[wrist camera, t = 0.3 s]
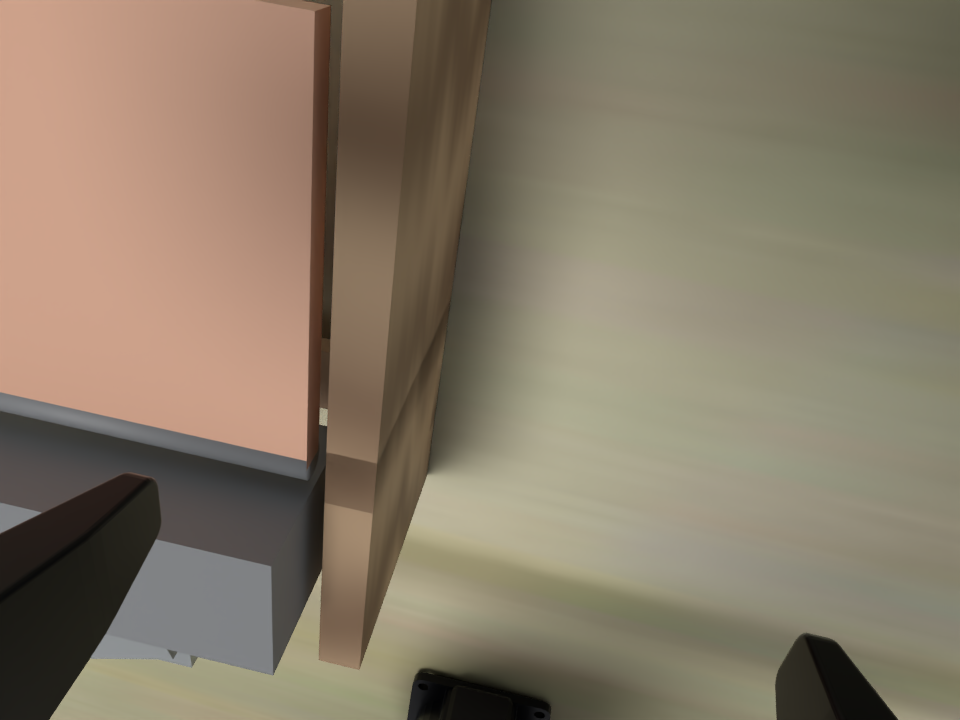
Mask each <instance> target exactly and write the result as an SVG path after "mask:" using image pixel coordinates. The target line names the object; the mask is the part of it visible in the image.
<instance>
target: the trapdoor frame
mask: <svg viewBox="0 0 960 720" xmlns="http://www.w3.org/2000/svg"><path fill="white" fill-rule="evenodd" d="M491 1H492V0H343V10H342V38H341V65H340V92H339V120H338V147H337V175H336V202H335V229H334V257H333V284H332V311H331V339H326V338H322V340H321V374H320V407H321V408H325V409H328V421H327V448H326V476H325V503H324V531H323V558H322V585H321V613H320V640H319V660H321V661H325V662H329V663H333V664H337V665H342V666H346V667H350V668H354V669H358V670H359V669H360V666H361V663H362V661H363V658H364V655H365V652H366V649H367V646H368V643H369V640H370V638H371V635H372V632H373V629H374V626H375V623H376V620H377V617H378V615H379V612H380V609H381V606H382V603H383V600H384V597H385V594H386V592H387V589H388V586H389V583H390V580H391V577H392V574H393V571H394V569H395V566H396V563H397V560H398V557H399V554H400V551H401V548H402V546H403V543H404V540H405V537H406V534H407V531H408V528H409V525H410V523H411V520H412V517H413V514H414V511H415V508H416V505H417V502H418V500H419V497H420V494H421V491H422V488H423V485H424V482H425V479H426V477H427V470H428V463H429V456H430V448H431V441H432V434H433V426H434V419H435V412H436V404H437V397H438V390H439V382H440V375H441V368H442V360H443V353H444V346H445V338H446V331H447V324H448V316H449V309H450V302H451V294H452V287H453V280H454V272H455V265H456V258H457V250H458V243H459V236H460V228H461V221H462V214H463V206H464V199H465V192H466V184H467V177H468V170H469V162H470V155H471V148H472V140H473V133H474V126H475V118H476V111H477V104H478V96H479V89H480V82H481V74H482V67H483V60H484V52H485V45H486V38H487V30H488V23H489V16H490V8H491Z"/></svg>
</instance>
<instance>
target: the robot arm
mask: <svg viewBox="0 0 960 720" xmlns="http://www.w3.org/2000/svg"><path fill="white" fill-rule="evenodd" d="M161 522H162V517H161V508H160V499H159V489H158V484H157V482H156V480H155V479H154V478H152V477H149V476H145V475H141V474H137V473H132V472H126V473H122V474H120V475H118V476H116V477H114V478H112V479H110V480H108V481H106V482H104V483H102V484H100V485H98V486H96V487H93V488H91V489H89V490H87V491H85V492H83V493H81V494H79V495H77V496H75V497H73V498H71V499H69V500H67V501H65V502H63V503H61V504H59V505H57V506H55V507H53V508H51V509H49V510H47V511H45V512H43V513H41V514H39V515H37V516H34V517H32V518H30V519H28V520H26V521H24V522H22V523H20V524H18V525H16V526H14V527H12V528H10V529H8V530H6V531H4V532H2V533H0V720H49V719H50V717H51V716H52V714H53V713H54V711H55V710H56V708H57V707H58V706H59V704H60V703H61V701H62V700H63V698H64V697H65V695H66V694H67V692H68V691H69V689H70V688H71V686H72V685H73V683H74V682H75V680H76V679H77V677H78V676H79V674H80V673H81V671H82V670H83V668H84V667H85V665H86V664H87V662H88V661H89V659H90V658H91V656H92V655H93V653H94V652H95V650H96V649H97V647H98V645H99V644H100V642H101V641H102V639H103V638H104V636H105V634H106V633H107V631H108V629H109V627H110V626H111V624H112V622H113V620H114V619H115V617H116V615H117V613H118V611H119V609H120V607H121V605H122V603H123V601H124V600H125V598H126V596H127V594H128V592H129V590H130V588H131V586H132V584H133V582H134V580H135V579H136V577H137V575H138V573H139V571H140V569H141V567H142V565H143V563H144V561H145V560H146V558H147V556H148V554H149V552H150V550H151V548H152V546H153V544H154V542H155V540H156V539H157V536H158V534H159V531H160V528H161ZM775 691H776V716H777V720H898V719H897V717H896V716H895V715H894V714H893V712H892V711H891V710H890V709H889V707H888V706H887V705H886V704H885V702H884V701H883V700H882V698H881V697H880V696H879V695H878V693H877V692H876V691H875V690H874V688H873V687H872V686H871V685H870V683H869V682H868V681H867V679H866V678H865V677H864V676H863V674H862V673H861V672H860V671H859V669H858V668H857V667H856V666H855V664H854V663H853V662H852V660H851V659H850V658H849V657H848V655H847V654H846V653H845V652H844V650H843V649H842V648H841V647H840V645H839V644H838V643H837V642H835V641H834V640H832V639H830V638H826V637H822V636H818V635H813V634H809V633H803V634H801V635H800V636H799V637H798V638H797V639H796V641H795V643H794V644H793V646H792V648H791V649H790V651H789V653H788V654H787V656H786V658H785V659H784V661H783V663H782V664H781V666H780V668H779V670H778V673H777V677H776V684H775ZM550 715H551V706H550V705H549V704H548V703H547V702H544V701H541V700H537V699H533V698H528V697H524V696H520V695H516V694H512V693H508V692H504V691H499V690H495V689H491V688H487V687H483V686H479V685H475V684H470V683H466V682H462V681H458V680H454V679H450V678H446V677H442V676H437V675H433V674H429V673H424V672H421V673H418V674H416V675H415V678H414V682H413V686H412V692H411V699H410V705H409V712H408V718H407V720H550Z"/></svg>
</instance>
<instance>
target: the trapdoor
mask: <svg viewBox="0 0 960 720" xmlns="http://www.w3.org/2000/svg"><path fill="white" fill-rule="evenodd" d="M330 26H331V5H325V4H320V3H314V2H309V1H303V0H0V533H2V532H4V531H6V530H8V529H10V528H12V527H14V526H16V525H18V524H20V523H22V522H24V521H26V520H28V519H30V518H32V517H34V516H37V515H39V514H41V513H43V512H45V511H47V510H49V509H51V508H53V507H55V506H57V505H59V504H61V503H63V502H65V501H67V500H69V499H71V498H73V497H75V496H77V495H79V494H81V493H83V492H85V491H87V490H89V489H91V488H93V487H96V486H98V485H100V484H102V483H104V482H106V481H108V480H110V479H112V478H114V477H116V476H118V475H120V474H122V473H126V472H132V473H137V474H141V475H145V476H149V477H152V478H154V479H155V480H156V482H157V484H158V489H159V499H160V508H161V517H162V522H161V528H160V531H159V534H158V536H157V539H156V540H155V542H154V544H153V546H152V548H151V550H150V552H149V554H148V556H147V558H146V560H145V561H144V563H143V565H142V567H141V569H140V571H139V573H138V575H137V577H136V579H135V580H134V582H133V584H132V586H131V588H130V590H129V592H128V594H127V596H126V598H125V600H124V601H123V603H122V605H121V607H120V609H119V611H118V613H117V615H116V617H115V619H114V620H113V622H112V624H111V626H110V627H109V629H108V631H107V633H106V635H111V636H115V637H119V638H123V639H127V640H131V641H135V642H139V643H143V644H147V645H151V646H155V647H159V648H164V649H168V650H172V651H176V652H180V653H184V654H188V655H192V656H196V657H200V658H204V659H208V660H212V661H217V662H221V663H225V664H229V665H233V666H237V667H241V668H245V669H249V670H253V671H257V672H261V673H265V674H270V675H274V673H275V670H276V668H277V666H278V664H279V662H280V659H281V657H282V655H283V653H284V651H285V648H286V646H287V644H288V642H289V640H290V638H291V635H292V633H293V631H294V629H295V627H296V624H297V622H298V620H299V618H300V616H301V613H302V611H303V609H304V607H305V605H306V603H307V600H308V598H309V596H310V594H311V592H312V589H313V587H314V585H315V583H316V581H317V578H318V576H319V574H320V572H321V570H322V558H323V531H324V503H325V476H326V448H327V426H323V425H319V409H320V374H321V340H322V305H323V270H324V235H325V200H326V166H327V131H328V96H329V61H330Z"/></svg>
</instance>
